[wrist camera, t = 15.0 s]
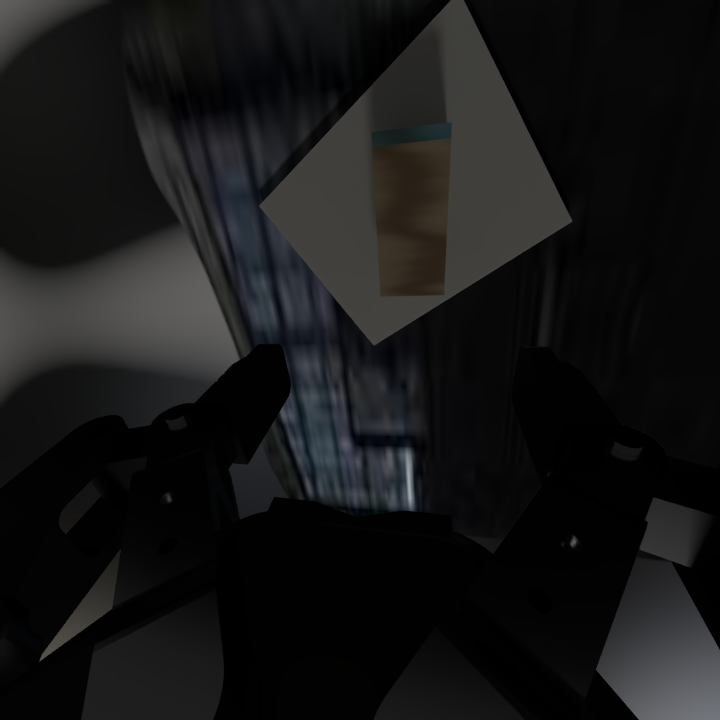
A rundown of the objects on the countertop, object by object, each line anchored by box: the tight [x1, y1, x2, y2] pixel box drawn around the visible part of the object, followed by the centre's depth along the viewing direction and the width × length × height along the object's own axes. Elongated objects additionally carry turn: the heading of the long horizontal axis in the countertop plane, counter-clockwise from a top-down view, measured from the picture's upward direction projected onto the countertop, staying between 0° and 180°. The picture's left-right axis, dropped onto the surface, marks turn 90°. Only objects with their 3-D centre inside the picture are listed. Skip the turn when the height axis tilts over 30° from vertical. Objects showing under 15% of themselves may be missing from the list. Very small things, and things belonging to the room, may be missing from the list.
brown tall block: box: [371, 122, 452, 297], centre depth 25 cm, size 5×5×11 cm
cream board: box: [259, 0, 572, 345], centre depth 28 cm, size 20×17×1 cm
